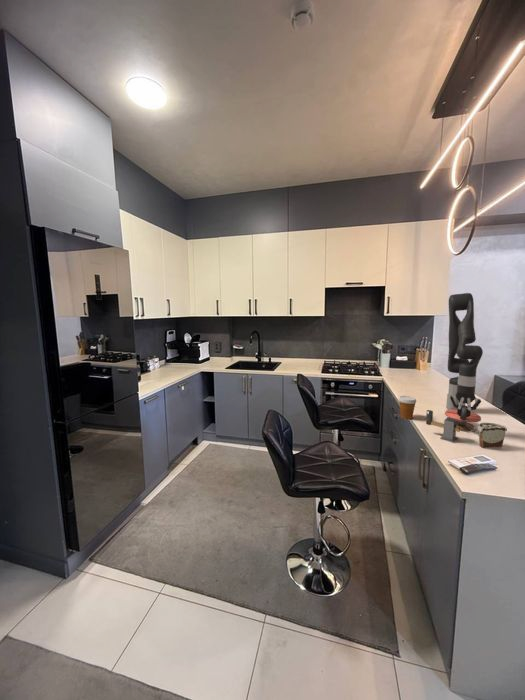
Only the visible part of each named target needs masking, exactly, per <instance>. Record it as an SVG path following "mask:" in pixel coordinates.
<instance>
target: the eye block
mask: <svg viewBox="0 0 525 700" xmlns="http://www.w3.org/2000/svg"><path fill="white" fill-rule="evenodd" d="M443 421H444V422H443V424H444V428H443V432H442V436H440V440H443V441H446V442H449V443H456V441H458V439H459V437H457V435H456V434H457V431H454V426H455V427H456V425H457V419H453V418H449V417H447V416H446V418H445V419H444V420H443Z"/></svg>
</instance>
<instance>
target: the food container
mask: <svg viewBox="0 0 525 700" xmlns="http://www.w3.org/2000/svg"><path fill="white" fill-rule="evenodd" d="M477 431H478V434H479V435H478V436H479V437H478V438H479V440H478V442H479V447H480V448H482V449H495V448H496V449H497V448H498V449H499V448H501V449H502V448H503V446H504V440H505V437H506V436H505V435H506V432H508V428H507V426H505V425H502V424H499V423H493V422H481V423H479V424H478V426H477Z"/></svg>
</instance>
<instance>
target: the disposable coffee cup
mask: <svg viewBox="0 0 525 700" xmlns="http://www.w3.org/2000/svg"><path fill="white" fill-rule="evenodd" d="M398 401H399V411H400V412H399V413H400V418H401V419H403V420H404V419H405V420H412V419H413V417H414V411H415V407H416V403H417V399H416V397H414V396H410V395H400V396H399V398H398Z"/></svg>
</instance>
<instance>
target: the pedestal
mask: <svg viewBox="0 0 525 700" xmlns="http://www.w3.org/2000/svg"><path fill="white" fill-rule="evenodd" d="M456 427H459V428H460V431H462V432H472V431H473V432H474V430H475V426H474V424H473V423H472V422H466V425H460V424H458V420H457V425H456Z"/></svg>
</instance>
